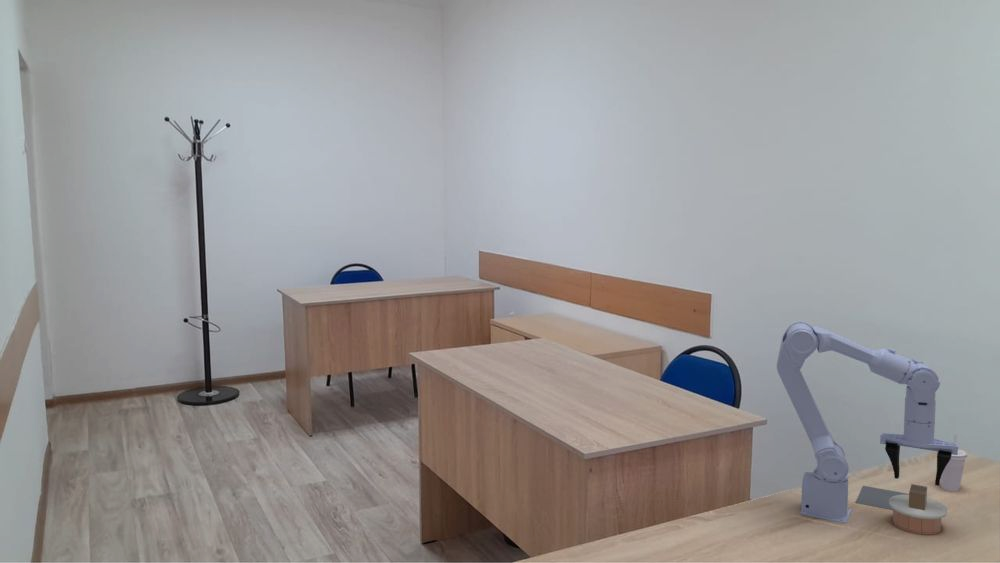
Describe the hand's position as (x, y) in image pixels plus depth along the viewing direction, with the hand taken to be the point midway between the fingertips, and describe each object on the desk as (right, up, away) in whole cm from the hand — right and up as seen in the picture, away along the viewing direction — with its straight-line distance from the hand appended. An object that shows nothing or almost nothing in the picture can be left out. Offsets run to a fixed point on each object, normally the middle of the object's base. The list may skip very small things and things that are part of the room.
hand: (916, 480), depth 158 cm
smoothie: (+19, -8, +19) cm, 28 cm away
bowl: (0, -10, 0) cm, 10 cm away
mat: (+1, -9, +14) cm, 16 cm away
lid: (0, -6, 0) cm, 6 cm away
